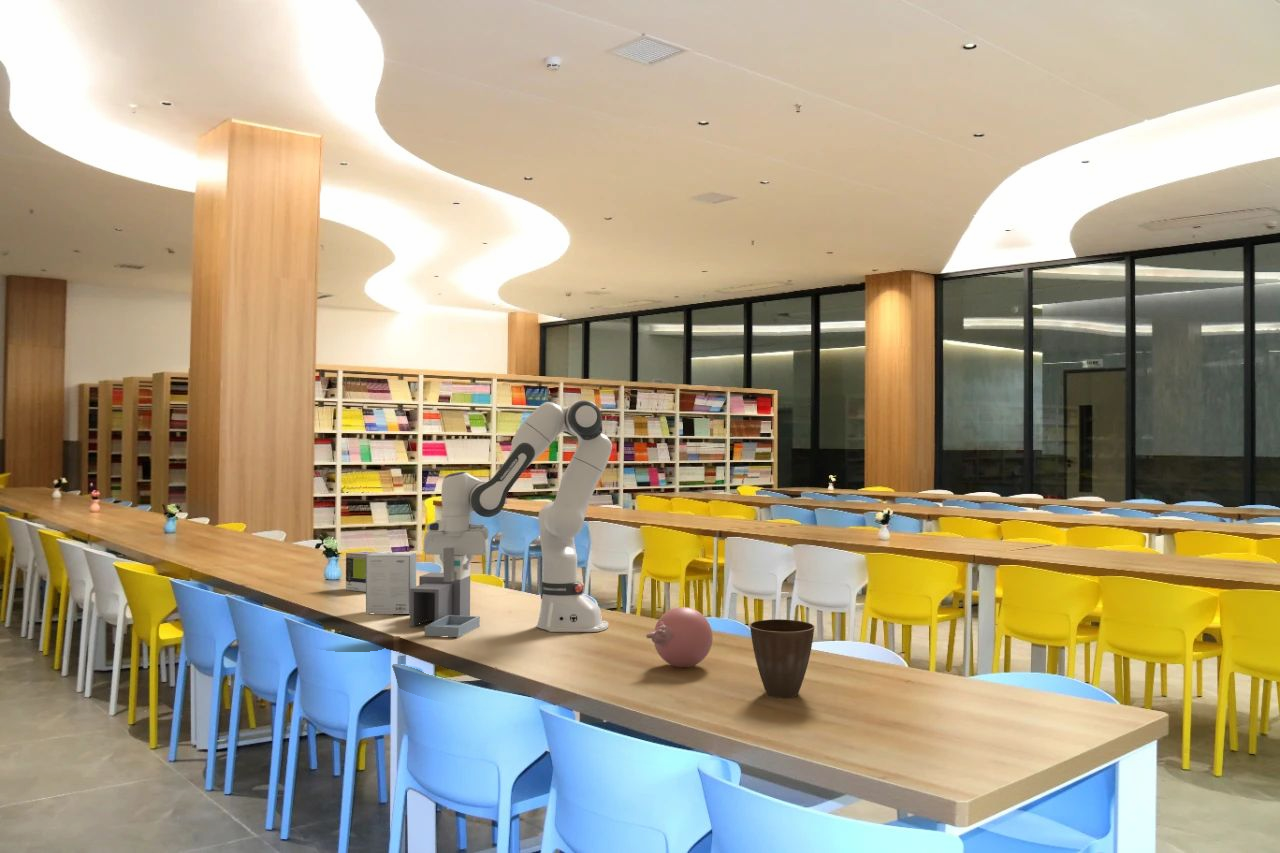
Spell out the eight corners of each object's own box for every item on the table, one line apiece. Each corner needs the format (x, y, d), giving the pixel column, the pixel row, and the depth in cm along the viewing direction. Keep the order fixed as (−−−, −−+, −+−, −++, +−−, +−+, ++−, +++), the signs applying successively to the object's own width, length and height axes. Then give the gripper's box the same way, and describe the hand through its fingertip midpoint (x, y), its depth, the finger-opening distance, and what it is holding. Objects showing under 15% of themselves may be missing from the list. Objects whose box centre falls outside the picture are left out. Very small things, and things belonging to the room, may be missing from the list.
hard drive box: (417, 611, 338) (417, 553, 338) (409, 615, 330) (410, 555, 330) (373, 610, 339) (373, 552, 339) (364, 614, 331) (365, 554, 332)
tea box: (391, 590, 384) (391, 552, 385) (371, 593, 376) (372, 554, 376) (364, 586, 392) (364, 549, 393) (344, 590, 384) (344, 552, 384)
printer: (470, 615, 329) (470, 573, 330) (445, 628, 308) (445, 583, 308) (430, 614, 332) (430, 572, 332) (403, 626, 310) (403, 581, 310)
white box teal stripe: (470, 575, 311) (470, 543, 311) (455, 581, 297) (455, 548, 297) (455, 575, 311) (454, 543, 311) (439, 581, 298) (439, 548, 298)
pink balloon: (627, 667, 257) (627, 608, 257) (686, 657, 269) (687, 600, 269) (663, 679, 244) (664, 616, 244) (724, 668, 256) (724, 608, 256)
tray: (479, 626, 311) (479, 616, 311) (458, 638, 293) (458, 627, 293) (447, 625, 313) (447, 615, 313) (424, 636, 295) (424, 626, 295)
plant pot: (806, 705, 221) (806, 633, 221) (742, 698, 227) (742, 628, 227) (819, 689, 235) (820, 622, 235) (758, 683, 240) (759, 617, 241)
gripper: (491, 523, 307) (491, 568, 307) (429, 523, 310) (429, 567, 310) (484, 525, 301) (485, 571, 301) (421, 525, 304) (421, 570, 304)
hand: (456, 569), depth 305 cm, fingers closed on white box teal stripe, 5 cm apart
